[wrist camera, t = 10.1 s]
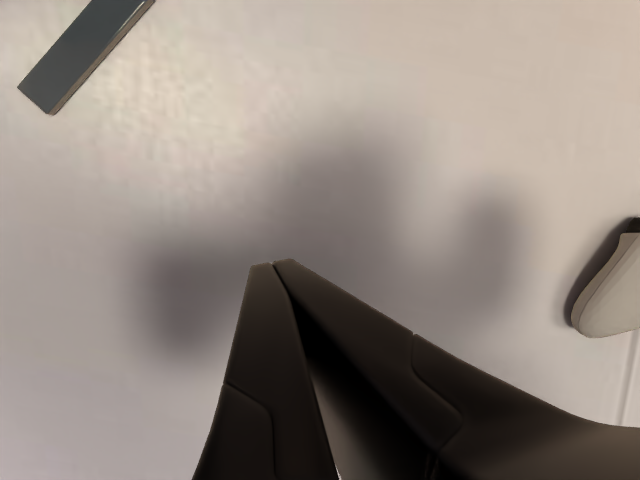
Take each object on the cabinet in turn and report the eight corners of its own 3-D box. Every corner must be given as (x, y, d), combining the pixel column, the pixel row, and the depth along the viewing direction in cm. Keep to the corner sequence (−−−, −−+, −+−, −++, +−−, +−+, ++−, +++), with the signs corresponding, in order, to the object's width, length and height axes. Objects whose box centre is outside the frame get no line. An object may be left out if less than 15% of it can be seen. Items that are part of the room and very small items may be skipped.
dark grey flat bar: (173, -20, 18) (169, -26, 18) (54, 116, 19) (46, 114, 18) (144, -50, 18) (139, -57, 17) (24, 89, 19) (15, 87, 18)
